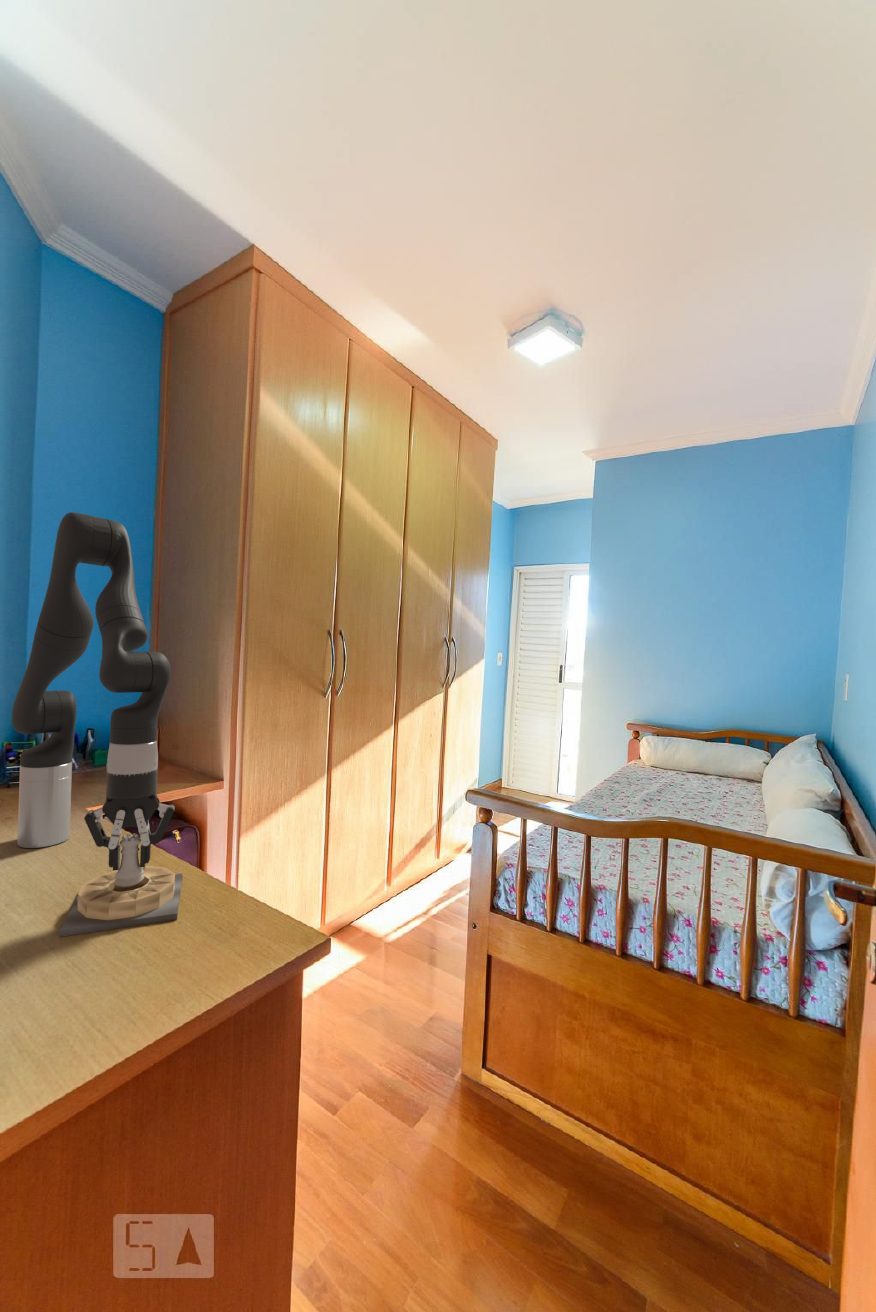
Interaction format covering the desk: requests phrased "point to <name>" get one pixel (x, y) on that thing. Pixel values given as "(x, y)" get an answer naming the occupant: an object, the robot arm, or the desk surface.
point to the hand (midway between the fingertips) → (129, 866)
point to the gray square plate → (124, 902)
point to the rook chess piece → (129, 862)
